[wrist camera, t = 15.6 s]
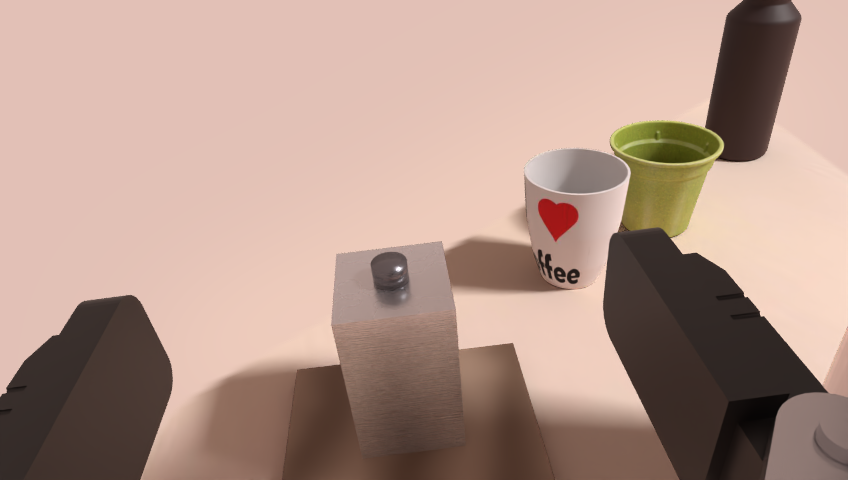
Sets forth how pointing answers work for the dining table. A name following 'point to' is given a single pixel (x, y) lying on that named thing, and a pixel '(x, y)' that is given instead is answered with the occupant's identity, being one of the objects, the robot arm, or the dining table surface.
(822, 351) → the dining table surface
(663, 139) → the plant pot
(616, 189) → the cup
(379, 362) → the steel cover
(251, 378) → the dining table surface
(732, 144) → the bottle
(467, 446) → the walnut board
